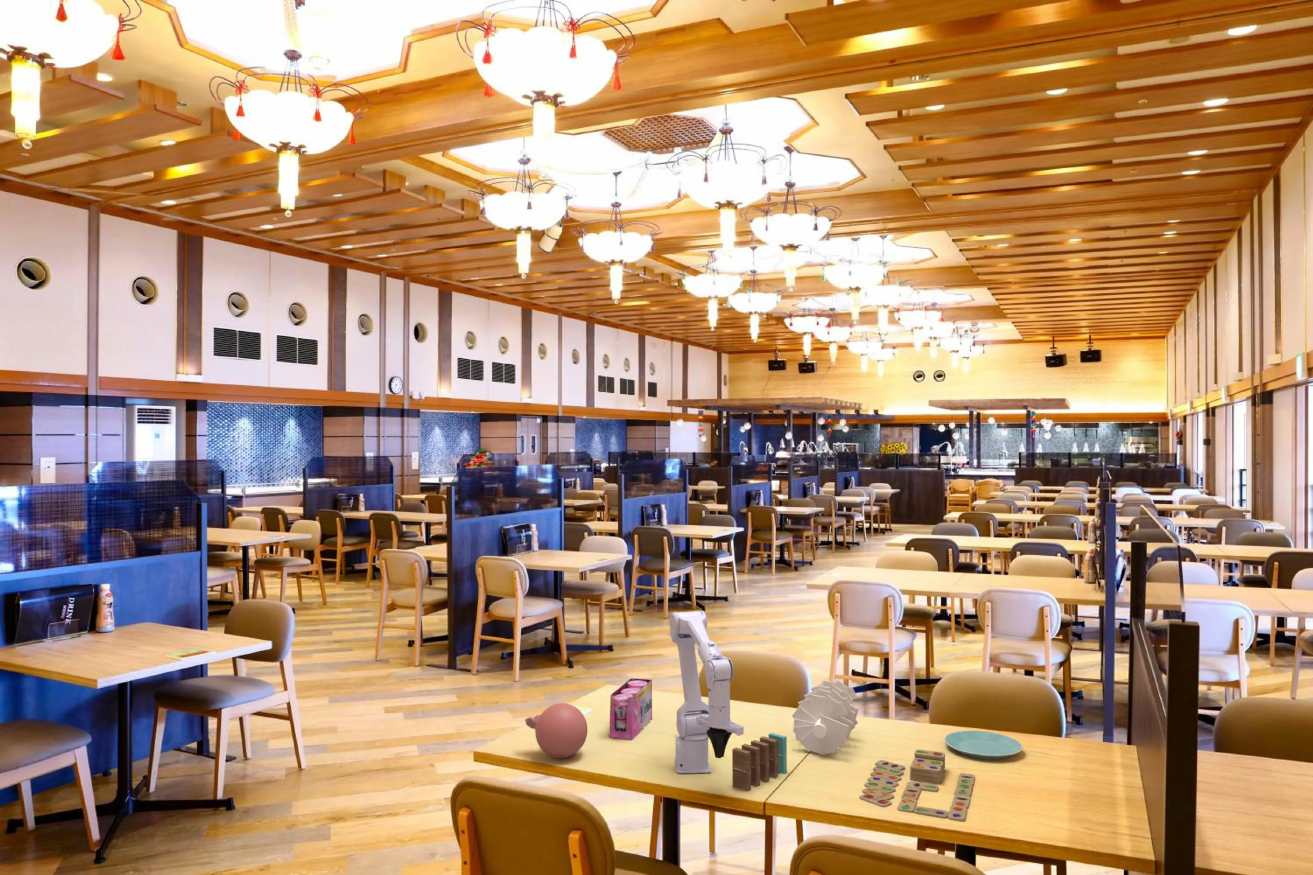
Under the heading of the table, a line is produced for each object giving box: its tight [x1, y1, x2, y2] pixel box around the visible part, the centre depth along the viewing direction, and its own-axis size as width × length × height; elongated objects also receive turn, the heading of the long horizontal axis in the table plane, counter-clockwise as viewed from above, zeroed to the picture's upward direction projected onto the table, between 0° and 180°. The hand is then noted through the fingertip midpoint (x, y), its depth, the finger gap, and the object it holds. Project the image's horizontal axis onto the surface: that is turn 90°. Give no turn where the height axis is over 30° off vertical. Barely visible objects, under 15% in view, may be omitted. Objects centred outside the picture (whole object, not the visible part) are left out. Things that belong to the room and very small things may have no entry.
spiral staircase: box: [791, 679, 859, 757], centre depth 265 cm, size 18×18×25 cm
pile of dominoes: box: [858, 749, 976, 823], centre depth 230 cm, size 35×27×6 cm
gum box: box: [608, 677, 653, 741], centre depth 281 cm, size 24×8×14 cm, turn 164°
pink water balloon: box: [524, 702, 589, 759], centre depth 256 cm, size 15×20×15 cm
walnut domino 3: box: [750, 739, 770, 783], centre depth 237 cm, size 2×5×10 cm, turn 47°
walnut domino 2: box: [741, 743, 761, 787], centre depth 234 cm, size 2×5×10 cm, turn 47°
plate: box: [943, 730, 1023, 760], centre depth 260 cm, size 22×22×3 cm
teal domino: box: [768, 732, 788, 775], centre depth 243 cm, size 2×5×10 cm, turn 48°
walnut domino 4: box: [759, 736, 779, 779], centre depth 240 cm, size 2×5×10 cm, turn 48°
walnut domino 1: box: [731, 747, 752, 792], centre depth 231 cm, size 2×5×10 cm, turn 48°
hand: (719, 756), depth 228 cm, fingers closed
